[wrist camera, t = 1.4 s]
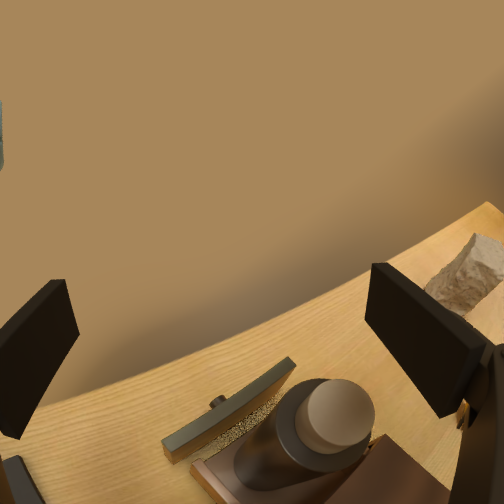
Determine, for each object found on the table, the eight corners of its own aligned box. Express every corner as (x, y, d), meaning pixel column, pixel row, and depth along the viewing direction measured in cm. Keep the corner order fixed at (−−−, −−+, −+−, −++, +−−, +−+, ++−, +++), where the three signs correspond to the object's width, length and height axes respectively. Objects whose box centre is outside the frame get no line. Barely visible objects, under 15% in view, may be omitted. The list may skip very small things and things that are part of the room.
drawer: (157, 444, 24) (151, 427, 19) (261, 378, 32) (278, 346, 27) (262, 557, 17) (285, 569, 12) (355, 471, 25) (393, 457, 20)
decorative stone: (421, 275, 52) (462, 213, 43) (458, 295, 50) (501, 238, 41) (420, 313, 45) (471, 246, 35) (460, 334, 43) (514, 274, 33)
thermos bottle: (220, 459, 23) (261, 405, 13) (266, 426, 27) (337, 342, 16) (261, 502, 21) (346, 488, 10) (305, 465, 24) (408, 410, 13)
